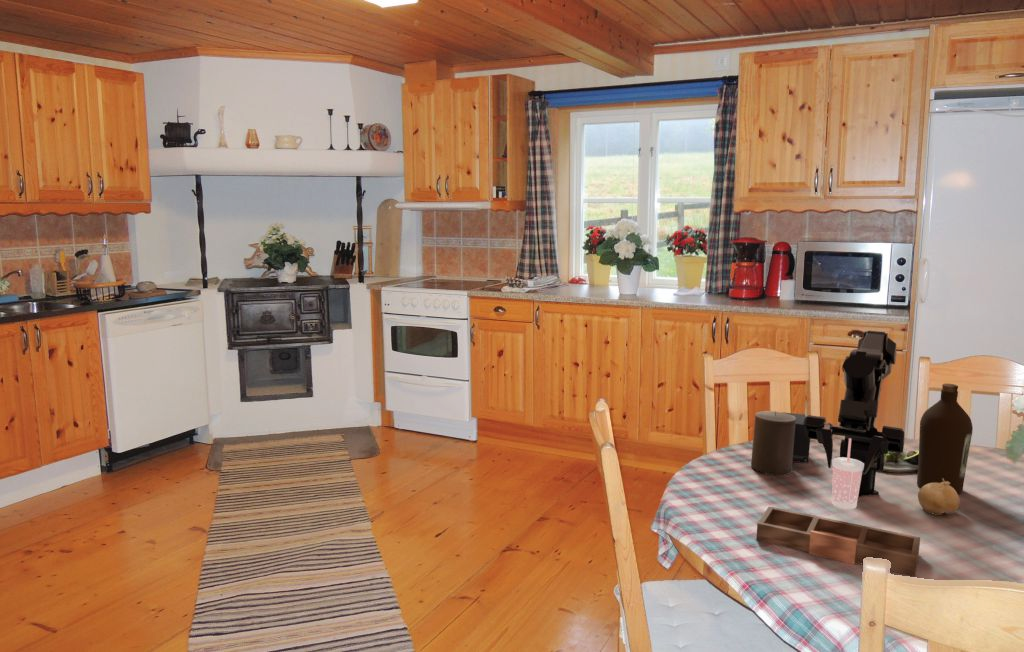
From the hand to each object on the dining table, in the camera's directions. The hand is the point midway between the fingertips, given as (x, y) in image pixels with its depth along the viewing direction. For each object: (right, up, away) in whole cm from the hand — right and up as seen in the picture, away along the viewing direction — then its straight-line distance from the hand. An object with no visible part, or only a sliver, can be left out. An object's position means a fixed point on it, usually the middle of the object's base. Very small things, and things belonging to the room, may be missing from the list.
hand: (846, 470), depth 153 cm
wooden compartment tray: (-4, -14, -4) cm, 15 cm away
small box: (+7, -6, +48) cm, 49 cm away
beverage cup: (+1, -8, +3) cm, 8 cm away
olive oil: (+33, -9, +26) cm, 44 cm away
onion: (+26, -12, +13) cm, 31 cm away
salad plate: (+31, -7, +44) cm, 54 cm away
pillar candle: (-2, -7, +39) cm, 40 cm away
